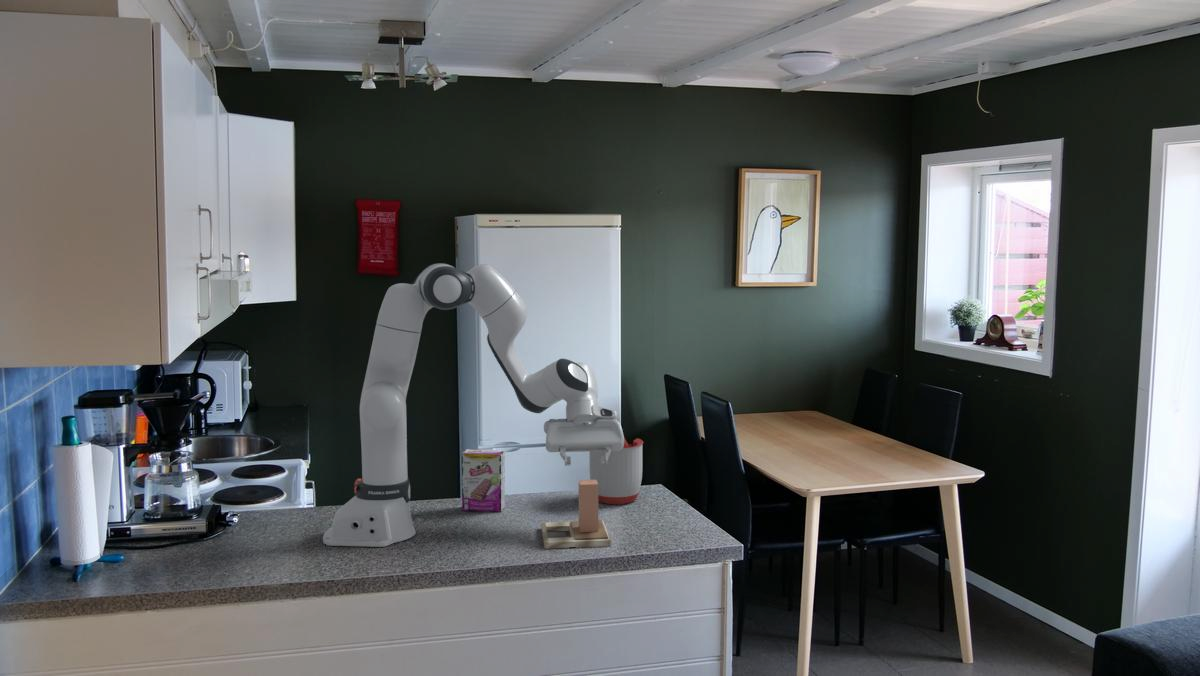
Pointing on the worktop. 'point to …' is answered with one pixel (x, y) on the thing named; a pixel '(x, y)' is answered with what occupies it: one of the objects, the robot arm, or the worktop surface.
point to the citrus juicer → (618, 473)
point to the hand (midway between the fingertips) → (586, 464)
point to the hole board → (573, 535)
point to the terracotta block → (588, 505)
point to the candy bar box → (483, 480)
